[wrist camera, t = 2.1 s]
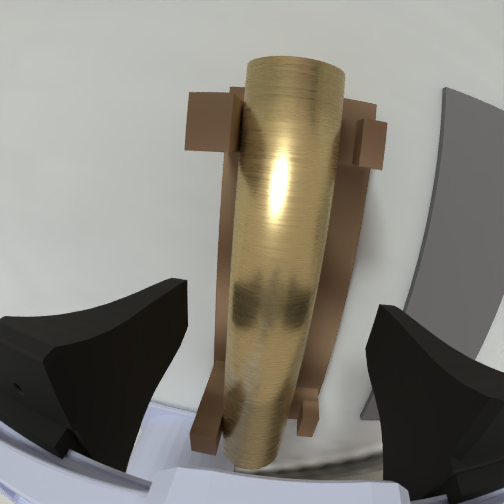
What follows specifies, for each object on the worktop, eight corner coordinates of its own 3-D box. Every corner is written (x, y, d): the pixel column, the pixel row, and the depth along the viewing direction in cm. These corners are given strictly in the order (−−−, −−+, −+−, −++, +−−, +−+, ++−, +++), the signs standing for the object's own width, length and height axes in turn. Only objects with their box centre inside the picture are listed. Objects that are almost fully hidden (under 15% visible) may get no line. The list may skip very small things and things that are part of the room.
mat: (440, 412, 18) (441, 416, 17) (360, 415, 18) (361, 420, 18) (532, 127, 11) (536, 128, 10) (442, 88, 11) (446, 87, 11)
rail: (285, 436, 15) (266, 476, 12) (235, 420, 16) (212, 456, 13) (349, 85, 9) (339, 59, 6) (266, 79, 10) (230, 57, 7)
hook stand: (314, 394, 18) (316, 478, 12) (216, 382, 19) (190, 461, 13) (371, 107, 12) (427, 81, 6) (234, 90, 13) (190, 51, 7)
